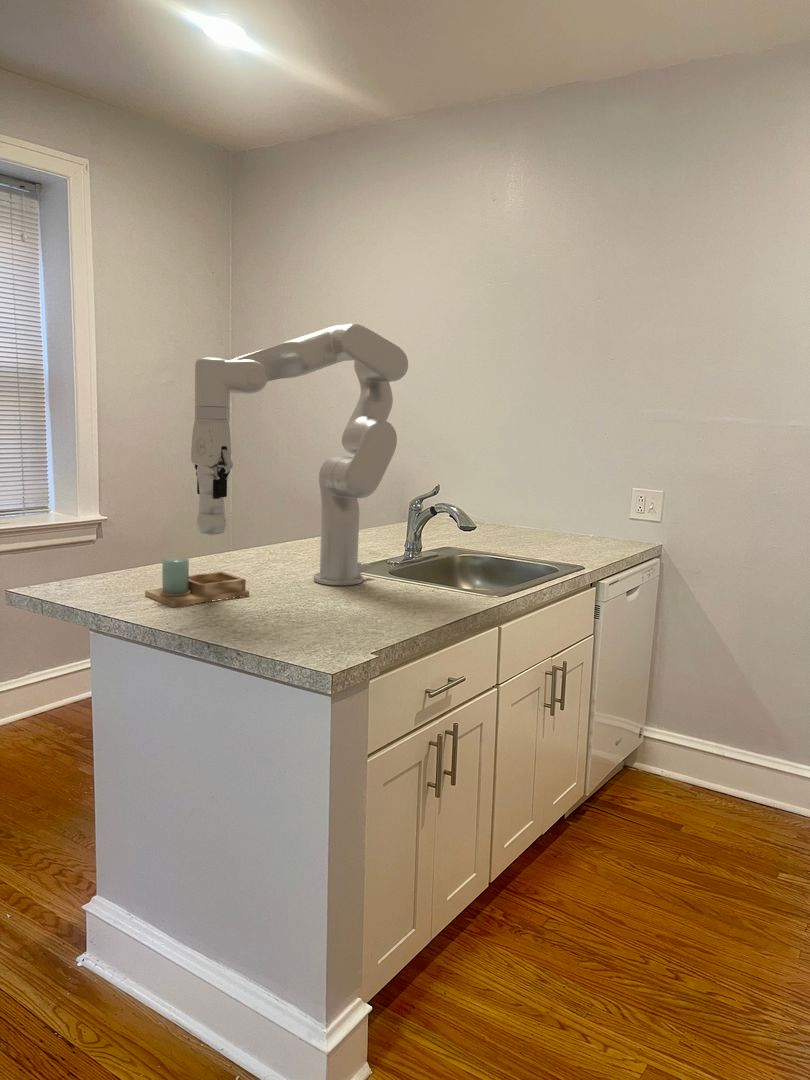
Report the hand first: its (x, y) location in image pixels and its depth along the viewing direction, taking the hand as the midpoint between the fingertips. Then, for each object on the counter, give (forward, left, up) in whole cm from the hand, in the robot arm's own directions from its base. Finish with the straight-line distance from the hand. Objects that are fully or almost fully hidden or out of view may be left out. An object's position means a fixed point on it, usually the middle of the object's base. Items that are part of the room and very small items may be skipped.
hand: (211, 494), depth 180 cm
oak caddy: (+3, 0, -23) cm, 23 cm away
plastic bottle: (0, 0, -9) cm, 9 cm away
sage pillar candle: (+9, 0, -21) cm, 23 cm away
